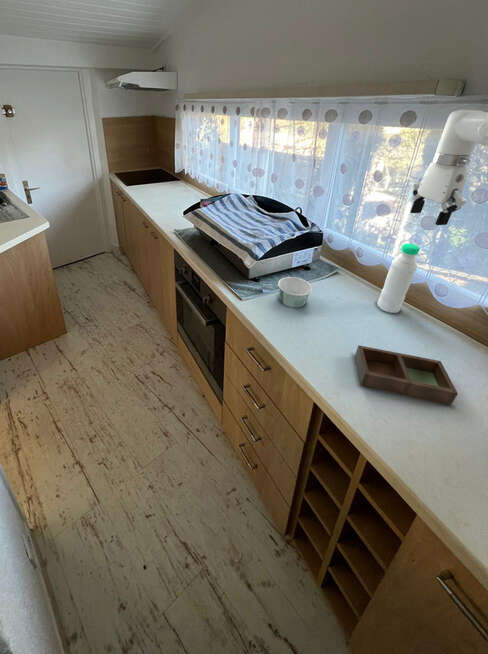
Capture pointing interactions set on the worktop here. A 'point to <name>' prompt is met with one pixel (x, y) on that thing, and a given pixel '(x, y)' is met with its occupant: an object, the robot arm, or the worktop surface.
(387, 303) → the water bottle
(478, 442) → the worktop surface
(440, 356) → the worktop surface
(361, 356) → the tray
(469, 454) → the worktop surface
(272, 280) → the worktop surface
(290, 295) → the food container
